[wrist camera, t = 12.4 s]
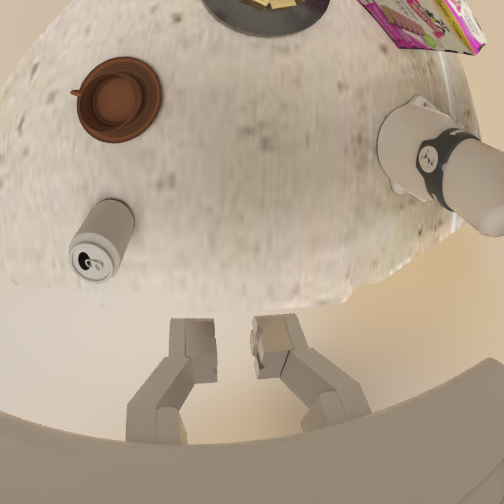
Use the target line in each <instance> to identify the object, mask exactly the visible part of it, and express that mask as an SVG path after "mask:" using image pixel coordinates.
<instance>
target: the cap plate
mask: <svg viewBox="0 0 504 504" xmlns="http://www.w3.org/2000/svg"><path fill="white" fill-rule="evenodd" d="M202 1H203V3H204V5H205V7H206V8H207V10H208V11H209V12H210V13H211V14H212V16H213V17H214V18H216V19H217V20H218V21H219V22H221V23H222V24H224V25H225V26H227V27H229V28H231V29H233V30H235V31H238V32H240V33H244V34H247V35H252V36H257V37H281V36H286V35H291V34H293V33H296V32H299V31H301V30H303V29H305V28H307V27H309V26H311V25H312V24H314V23H315V22H316V21H318V20H319V19H320V18H321V17H322V15H323V14H324V13H325V11H326V9H327V7H328V5H329V1H330V0H304V2H302V3H301V4H299V5H298V6H295V7H294V8H292V9H287V10H280V11H274V12H268V10H267V7H265V8H264V9H263V10H262V11H259V10H257V9H255V8H253V7H251V6H248V5H246V4H244V3H241V2H239V1H240V0H202Z"/></svg>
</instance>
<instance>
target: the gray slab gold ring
mask: <svg viewBox="0 0 504 504" xmlns="http://www.w3.org/2000/svg"><path fill="white" fill-rule="evenodd" d="M239 2H241V3H244V4H246V5H248V6H251V7H253V8H255V9H257V10H259V11H262V10H263V9H264V8H265V7H267V10H268V12H274V11H280V10H287V9H292V8H294V7H295V6H298V5H299V4H301V3H302V2H304V0H240V1H239Z"/></svg>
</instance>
